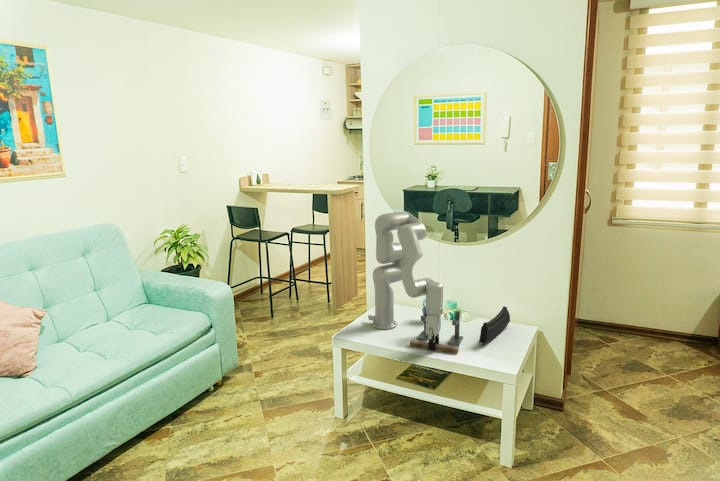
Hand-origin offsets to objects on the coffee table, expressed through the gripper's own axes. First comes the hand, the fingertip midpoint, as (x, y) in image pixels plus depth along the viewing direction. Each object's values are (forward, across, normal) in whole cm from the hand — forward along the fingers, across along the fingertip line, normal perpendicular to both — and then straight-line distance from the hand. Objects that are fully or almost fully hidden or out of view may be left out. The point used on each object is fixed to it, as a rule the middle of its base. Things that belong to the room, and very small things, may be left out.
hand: (433, 347), depth 221 cm
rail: (0, 0, 0) cm, 0 cm away
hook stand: (+1, -11, 0) cm, 11 cm away
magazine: (+1, -26, +24) cm, 35 cm away
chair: (+1, -33, -11) cm, 35 cm away
